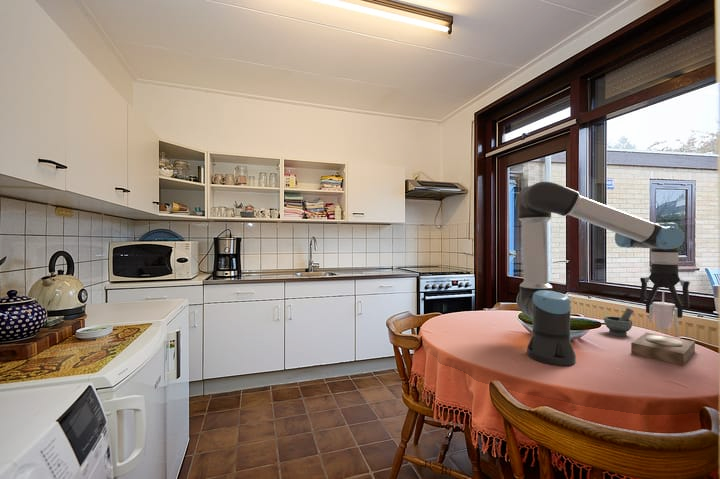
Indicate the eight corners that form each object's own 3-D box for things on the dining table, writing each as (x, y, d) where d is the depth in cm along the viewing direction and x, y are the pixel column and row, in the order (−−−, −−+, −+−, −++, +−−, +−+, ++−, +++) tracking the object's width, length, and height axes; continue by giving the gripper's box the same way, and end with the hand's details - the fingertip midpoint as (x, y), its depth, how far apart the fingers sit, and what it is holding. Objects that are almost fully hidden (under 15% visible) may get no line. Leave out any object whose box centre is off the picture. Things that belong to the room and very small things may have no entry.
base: (631, 353, 119) (631, 340, 119) (646, 341, 132) (646, 330, 132) (683, 365, 107) (684, 350, 107) (694, 351, 120) (694, 338, 120)
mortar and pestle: (613, 337, 138) (614, 309, 138) (599, 330, 147) (599, 305, 147) (641, 338, 137) (641, 310, 137) (624, 331, 146) (625, 305, 146)
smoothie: (672, 328, 120) (672, 291, 120) (677, 332, 115) (677, 294, 115) (650, 325, 124) (650, 290, 124) (654, 329, 119) (654, 292, 118)
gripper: (702, 264, 114) (702, 328, 114) (634, 261, 129) (633, 317, 129) (699, 265, 109) (698, 331, 110) (629, 262, 125) (628, 319, 125)
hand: (663, 323), depth 120 cm, fingers closed on smoothie, 6 cm apart
